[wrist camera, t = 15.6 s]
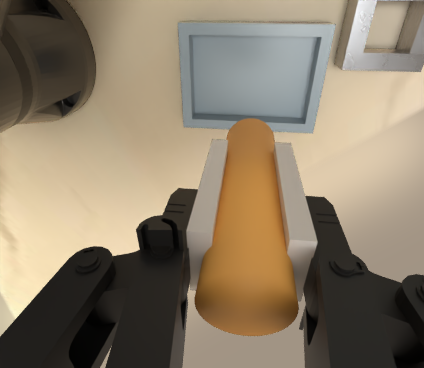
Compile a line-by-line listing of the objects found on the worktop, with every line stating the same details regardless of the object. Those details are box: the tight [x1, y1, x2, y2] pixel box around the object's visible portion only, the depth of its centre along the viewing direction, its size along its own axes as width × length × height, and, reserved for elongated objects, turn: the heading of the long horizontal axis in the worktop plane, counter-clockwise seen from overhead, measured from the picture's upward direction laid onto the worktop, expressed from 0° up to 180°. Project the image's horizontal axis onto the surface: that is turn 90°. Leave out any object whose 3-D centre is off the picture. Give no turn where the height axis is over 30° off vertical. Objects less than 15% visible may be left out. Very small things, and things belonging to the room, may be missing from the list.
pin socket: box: [334, 0, 424, 72], centre depth 26 cm, size 7×7×3 cm
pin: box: [195, 118, 299, 336], centre depth 12 cm, size 3×3×11 cm
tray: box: [178, 21, 336, 133], centre depth 30 cm, size 14×10×2 cm
